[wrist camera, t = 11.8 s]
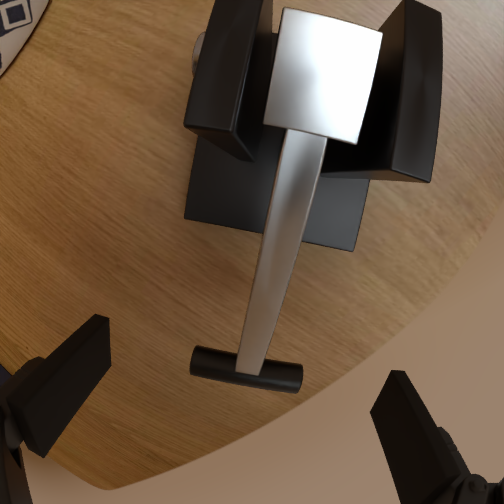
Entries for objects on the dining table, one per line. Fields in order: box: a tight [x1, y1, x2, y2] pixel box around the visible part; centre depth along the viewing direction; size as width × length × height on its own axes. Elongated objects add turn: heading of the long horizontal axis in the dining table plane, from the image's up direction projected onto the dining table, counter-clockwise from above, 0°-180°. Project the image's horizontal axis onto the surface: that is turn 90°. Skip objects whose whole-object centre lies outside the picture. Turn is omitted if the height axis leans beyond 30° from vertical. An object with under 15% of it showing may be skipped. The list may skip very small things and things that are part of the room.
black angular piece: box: [183, 0, 443, 252], centre depth 11 cm, size 12×10×13 cm
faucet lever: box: [189, 7, 384, 394], centre depth 10 cm, size 14×5×2 cm, turn 169°
